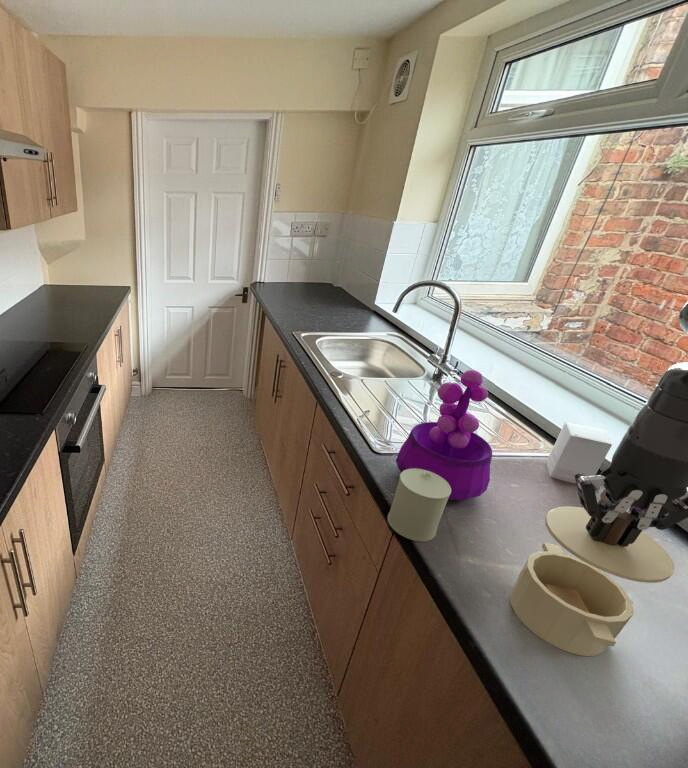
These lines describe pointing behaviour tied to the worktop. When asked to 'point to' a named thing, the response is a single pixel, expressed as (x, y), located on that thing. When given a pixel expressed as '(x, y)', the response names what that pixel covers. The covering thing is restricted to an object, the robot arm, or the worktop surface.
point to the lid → (610, 546)
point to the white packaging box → (577, 452)
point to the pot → (561, 619)
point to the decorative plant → (452, 441)
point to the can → (418, 504)
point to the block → (568, 596)
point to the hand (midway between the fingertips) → (606, 539)
